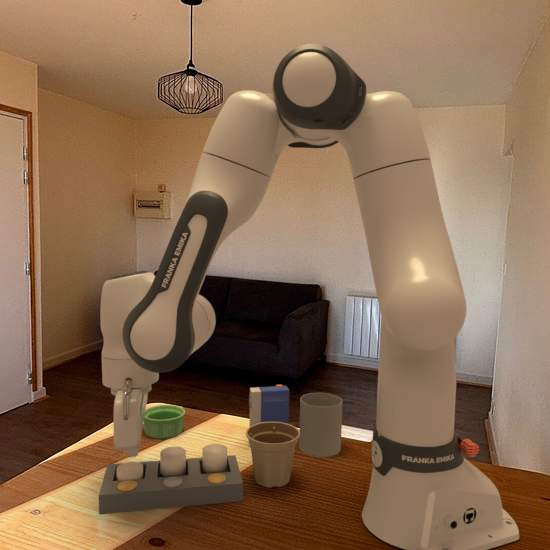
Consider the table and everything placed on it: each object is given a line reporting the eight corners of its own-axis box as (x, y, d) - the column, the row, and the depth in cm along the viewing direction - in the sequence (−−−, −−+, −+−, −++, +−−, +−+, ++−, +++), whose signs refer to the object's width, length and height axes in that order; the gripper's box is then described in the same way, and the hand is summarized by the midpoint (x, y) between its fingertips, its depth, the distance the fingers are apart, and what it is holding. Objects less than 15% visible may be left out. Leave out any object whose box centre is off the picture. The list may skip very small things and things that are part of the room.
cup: (295, 453, 96) (296, 404, 95) (302, 437, 104) (304, 391, 103) (338, 459, 94) (340, 408, 93) (342, 441, 102) (344, 395, 101)
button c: (143, 479, 84) (143, 460, 84) (142, 492, 80) (142, 472, 80) (118, 481, 83) (118, 462, 83) (115, 495, 79) (115, 474, 79)
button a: (225, 461, 87) (225, 443, 86) (228, 473, 83) (228, 453, 82) (201, 463, 86) (201, 444, 86) (203, 475, 82) (203, 455, 81)
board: (235, 471, 89) (235, 454, 88) (242, 500, 79) (243, 481, 79) (107, 481, 84) (107, 463, 84) (98, 514, 75) (98, 493, 74)
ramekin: (174, 443, 100) (174, 422, 100) (134, 437, 102) (134, 417, 102) (191, 426, 109) (191, 407, 109) (154, 421, 111) (154, 402, 111)
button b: (185, 464, 85) (185, 445, 85) (185, 476, 81) (186, 456, 81) (160, 466, 84) (160, 447, 84) (159, 478, 80) (159, 458, 80)
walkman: (284, 440, 102) (285, 383, 101) (288, 445, 100) (289, 388, 99) (247, 443, 101) (248, 386, 99) (250, 449, 98) (251, 390, 97)
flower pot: (294, 497, 80) (295, 446, 80) (238, 490, 82) (239, 440, 82) (302, 470, 90) (303, 424, 89) (252, 464, 92) (253, 419, 91)
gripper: (147, 389, 70) (150, 482, 71) (153, 354, 90) (155, 427, 91) (101, 392, 69) (104, 486, 70) (117, 356, 89) (119, 430, 90)
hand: (133, 453), depth 81 cm, fingers closed
